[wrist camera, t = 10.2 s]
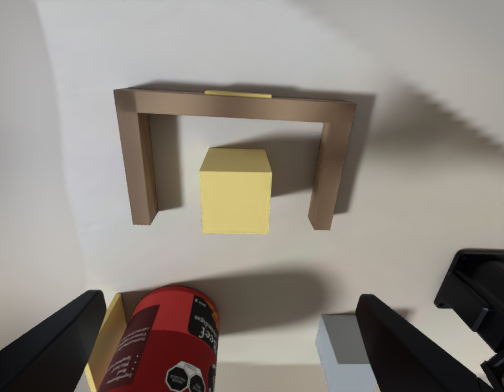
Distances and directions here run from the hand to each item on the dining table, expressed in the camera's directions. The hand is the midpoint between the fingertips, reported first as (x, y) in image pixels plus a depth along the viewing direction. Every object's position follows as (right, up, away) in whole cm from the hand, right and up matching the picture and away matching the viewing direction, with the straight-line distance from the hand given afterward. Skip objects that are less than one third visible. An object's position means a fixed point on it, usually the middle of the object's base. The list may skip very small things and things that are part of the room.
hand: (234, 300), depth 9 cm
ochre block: (-1, +5, +11) cm, 12 cm away
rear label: (-12, -8, +16) cm, 21 cm away
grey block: (+9, -10, +18) cm, 23 cm away
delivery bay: (-1, +6, +10) cm, 12 cm away
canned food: (-6, -8, +17) cm, 19 cm away
